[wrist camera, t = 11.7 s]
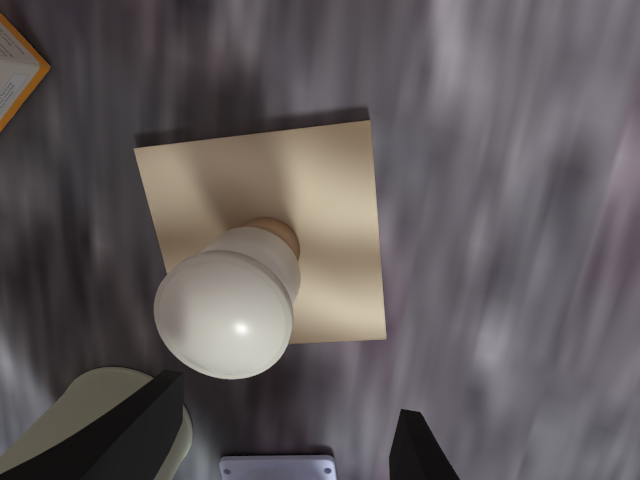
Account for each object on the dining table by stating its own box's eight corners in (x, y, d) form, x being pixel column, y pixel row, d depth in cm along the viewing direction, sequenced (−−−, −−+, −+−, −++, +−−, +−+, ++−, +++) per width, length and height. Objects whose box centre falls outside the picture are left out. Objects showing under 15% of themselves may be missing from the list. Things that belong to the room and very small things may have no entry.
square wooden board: (385, 333, 22) (391, 379, 19) (191, 343, 24) (160, 387, 20) (370, 119, 18) (373, 122, 15) (139, 147, 20) (89, 156, 16)
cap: (220, 202, 16) (180, 231, 13) (324, 254, 17) (314, 297, 13) (182, 294, 18) (136, 343, 14) (277, 339, 18) (257, 399, 15)
